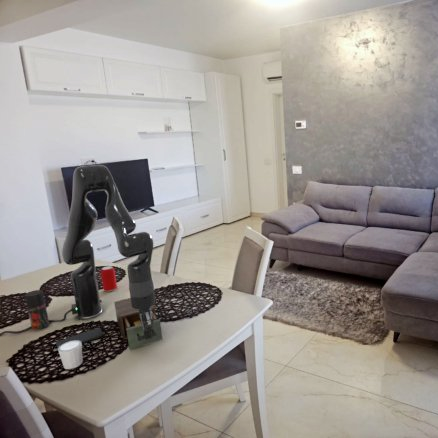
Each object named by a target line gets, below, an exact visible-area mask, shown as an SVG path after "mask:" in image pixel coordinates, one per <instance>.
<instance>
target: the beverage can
mask: <svg viewBox="0 0 438 438" xmlns="http://www.w3.org/2000/svg"><path fill="white" fill-rule="evenodd" d="M100 277H101V282H102V288H103V289H102V290H103V291H105V292H109V293H110V292H114V291H115V290H116V289H117V288H118V285H117V284H118V283H117V278H116V271H115V268H114V267H113V266H112V265H108V266H104V267H102V268H101V270H100Z"/></svg>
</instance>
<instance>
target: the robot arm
mask: <svg viewBox="0 0 438 438" xmlns="http://www.w3.org/2000/svg"><path fill="white" fill-rule="evenodd" d="M103 191H104V192H105V194H106V195H107V199H106V203H105V207H104V216H105V219H106V222H107V223H108V224H109V226H110V227H111V229H112V231H113V233H114V237H115V239H116V244H117V250H118V252H119V254H120V255H121V256H122V257H124V258H132V257H137V258H136V259H134V260H133V261H131V262H130V263H128V264H127V268H126V270H127V276H128V277H127V278H128V290H129V298H131V305H132V307H133V308H134V309H138V314H139V318H140V322H141V324H142V328H143V330H144V337H145V339H146V340H148V339H151V338H152V332H151V329H153V319H152V310H151V309H150V307H151V306H153V305H154V306H155V304H156V302H157V301H156V293H155V285H154V284H155V283H154V280H153V276H152V269H151V264H152V257H153V253H154V252H153V251H154V240H153V236H152V235H151V234H150V233H149V232H147V231H140V232H135V230H136V229H137V223H136V221H135V219H134V218H133V216H132V215H131V214H130V212H129V211H128V209H127V208H126V205H125V204H124V201H123V200H122V197H121V194H120V192H119V189H118V187H117V185H116V182H115V180H114V178H113V175H112V173H111V171H110V170H109V168H108V167H107V166H105V165H104V164H92V165H82V166H81V165H80V166H78V167H76V168H75V169H74V171H73V176H72V197H71V205H70V210H69V215H68V219H67V229H66V235H65V237H64V241H63V244H62V248H61V258H62V260H63V262H64V263H65V264H66V265H69V266H73V265H78V264H80V266H79V267H77V268H76V269H74V270H72V272H70V279H71V285H72V290H73V295H74V302H75V303H73V304H71V309H69V310H68V311H66V312H65V313H64V315H63V318H62V319H59V320H55V319H48V320H49V323H57V322H64V321H65V320H66V319H67V315H68V314H70V313H72V316H73V315H77V319H78V320H79V321H80V320H89V319H93V318H96V317H98V316H100V315H101V314H102V313H103V309H102V308H103V307H102V303H103V301H102V300H101V297H100V291H99V284H98V278H97V272H96V269H97V268H96V261H95V251H94V247H93V244H92V242H91V241H90V240H89V239H86V238H87V237H88V236H89V235H90V234H91V233H92V232H93V231H94V230H95V227H96V224H97V220H98V211H97V209H96V207H95V206H94V204H92V203H91V202H90V200H88V198H87V195H88V194H89V193H95V192H96V193H97V192H103ZM133 232H135V233H133ZM30 329H31V330H32V327H31V326H28V327H27V328H24V329H21V330H16V331H14V330H4V331H2V332H0V337H2V335H4V334H20V333H23V332H26V331H29V330H30Z"/></svg>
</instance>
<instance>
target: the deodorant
mask: <svg viewBox="0 0 438 438" xmlns="http://www.w3.org/2000/svg"><path fill="white" fill-rule="evenodd" d="M44 296H45V295H44V291H43V290H42V289H36V290H31V291H28V292H26V293H25V294H24V298H25V302H26V308H27V311H28V317H29V321H30V327H32V328H31V330H32V331H34V332H35V331H36V332H37V331H42V330H45V329H47V328H48V327H50V322H49V320H50V319H49V317H48V316H49V315H48V311H47V305H46V301H45V297H44Z"/></svg>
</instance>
